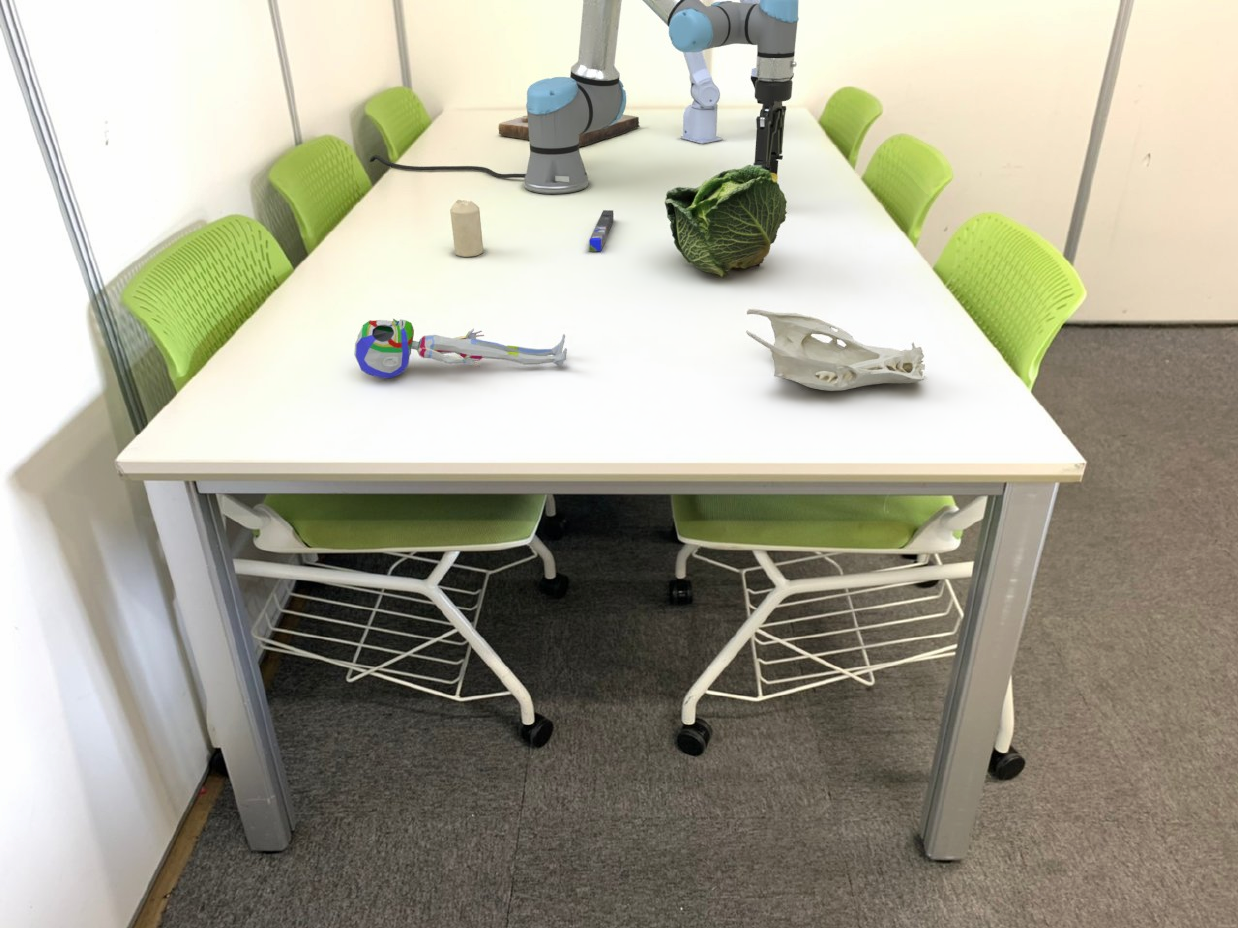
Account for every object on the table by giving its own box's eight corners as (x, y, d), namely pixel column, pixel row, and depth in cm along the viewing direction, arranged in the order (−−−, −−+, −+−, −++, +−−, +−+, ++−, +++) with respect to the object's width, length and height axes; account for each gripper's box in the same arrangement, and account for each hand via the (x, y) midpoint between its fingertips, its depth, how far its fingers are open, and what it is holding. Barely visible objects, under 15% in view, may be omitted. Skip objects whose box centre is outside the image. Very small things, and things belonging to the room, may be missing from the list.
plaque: (578, 121, 243) (496, 109, 258) (578, 149, 246) (497, 135, 261) (641, 104, 264) (562, 94, 278) (641, 129, 267) (563, 118, 282)
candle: (488, 249, 176) (483, 198, 171) (475, 258, 172) (470, 206, 167) (463, 246, 178) (457, 196, 173) (450, 255, 174) (443, 204, 168)
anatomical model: (747, 299, 130) (925, 301, 126) (745, 356, 135) (916, 360, 131) (744, 342, 118) (940, 346, 114) (742, 403, 123) (930, 410, 119)
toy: (569, 347, 126) (349, 329, 122) (563, 400, 131) (350, 385, 126) (565, 318, 135) (359, 301, 130) (559, 369, 139) (360, 354, 134)
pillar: (613, 210, 190) (600, 241, 173) (613, 220, 191) (600, 251, 174) (603, 210, 190) (589, 240, 173) (603, 220, 191) (589, 251, 174)
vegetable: (694, 294, 173) (643, 202, 166) (775, 239, 175) (728, 145, 167) (734, 307, 155) (678, 205, 147) (824, 245, 156) (773, 141, 149)
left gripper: (779, 87, 174) (770, 206, 187) (803, 73, 188) (793, 185, 200) (742, 85, 177) (736, 203, 189) (769, 71, 190) (761, 182, 203)
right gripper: (766, 53, 237) (762, 107, 245) (803, 47, 245) (798, 100, 252) (747, 50, 242) (744, 103, 249) (784, 45, 249) (780, 97, 257)
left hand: (765, 193), depth 195 cm, fingers closed on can, 5 cm apart
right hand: (770, 101), depth 251 cm, fingers open, 7 cm apart
